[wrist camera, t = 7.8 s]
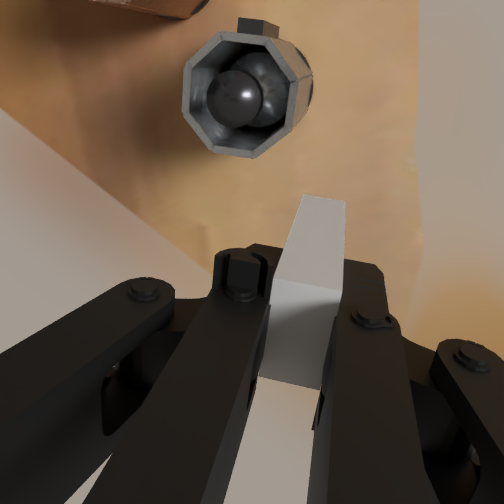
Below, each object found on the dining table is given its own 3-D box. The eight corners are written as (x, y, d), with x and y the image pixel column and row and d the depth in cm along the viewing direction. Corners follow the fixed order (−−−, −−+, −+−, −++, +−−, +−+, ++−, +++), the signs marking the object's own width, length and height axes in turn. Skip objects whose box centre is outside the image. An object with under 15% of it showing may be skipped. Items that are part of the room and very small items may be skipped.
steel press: (222, 125, 50) (177, 149, 37) (230, 22, 45) (183, 9, 33) (305, 138, 48) (288, 167, 36) (322, 33, 44) (310, 24, 31)
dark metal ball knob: (223, 120, 44) (187, 138, 35) (229, 48, 41) (192, 45, 32) (288, 130, 43) (270, 151, 34) (298, 57, 40) (282, 56, 31)
